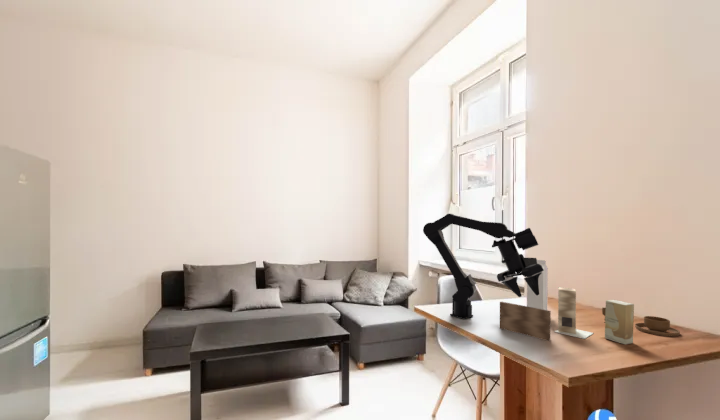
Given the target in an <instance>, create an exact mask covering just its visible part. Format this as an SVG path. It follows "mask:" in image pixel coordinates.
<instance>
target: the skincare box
mask: <svg viewBox="0 0 720 420" xmlns="http://www.w3.org/2000/svg"><path fill="white" fill-rule="evenodd" d="M605 308H606V311H605V316H604V319H605V320H604V322H605V323H604V339H607V340H610V341H613V342H616V343H620V344H622V345H629V344H633V343H634V324H635V323H634V321H635V320H634V316H635V315H634V314H635V304H634V303H632V302H631V303H630V302H626V301H621V300H618V299H617V300H616V299H609V300H608V299H607V300H605Z"/></svg>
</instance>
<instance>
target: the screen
mask: <svg viewBox="0 0 720 420" xmlns="http://www.w3.org/2000/svg"><path fill="white" fill-rule="evenodd" d="M551 315H552V314H551V310H548V309H547V310H543V309H537V308H532V307H527V305H521V304H516V303H510V302H505V301H499V329H501V330H504V331H508V332H513V333H517V334H520V335H525V336H529V337H532V338H536V339H540V340H544V341H549V342H550V341H551Z"/></svg>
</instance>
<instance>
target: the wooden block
mask: <svg viewBox="0 0 720 420" xmlns="http://www.w3.org/2000/svg"><path fill="white" fill-rule="evenodd" d="M576 291H577V290H576V288H572V287H571V288H570V287H560V286H559V287H558V292H557V293H558V297H557V300H558V301H557V302H558V304H557V306H558V307H557V309H558V310H557V313H558V316H557V317H558V318H557V319H558V320H557V321H558V322H557V323H558V325H557V328H558V329H557V330H558V331H559V332H566V333H573V334H576V329H577V327H576V326H577V325H576V324H577V317H576V316H577V312H576V311H577V292H576Z"/></svg>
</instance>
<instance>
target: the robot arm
mask: <svg viewBox="0 0 720 420" xmlns="http://www.w3.org/2000/svg"><path fill="white" fill-rule="evenodd" d="M452 225H455V226H460V227H463V228H467V229H470V230H475V231H480V232H482V233H484V234H486V235H488V236H491V237H493V238H495V239H500V240H495V239H494V240H493V242H492V245H491V248H495V247H497V249H498V251H499V252H500V255H501V257H502V260H501V263H502V264H505V266H506V268H507V270H505V271H502V272H500V273H498V274H496V278H497V281H498V282H499V283H500V282H501V284H504V285H505V286H506V287H507V288H508V289H509V290H511V291H512V292H513V293H514V294H515V295H516V296H517V297H518V298H521V297H522V292H521V290H520V287H519V285H518V279H519V278H518V276H523V277H524V278H523V280H524V281H525V282H526V285H527V284H528V285H529V287H530V288H531V289H532V291H533V292H534V293H535V294H536V295H539V285H538V278H539V276H540V274H542V271H544V270H543V268H542V266H541V265H540V264H537V260H538V259H537V257H524V255H523V254H522V253H519V251H518V250H520V249H522V251H525V250H528V249H531V248H533V247H537V246H539V243H538V241H537V238H536V236H535V235H534V234H533V231H532V229H531V228H530V227H528V228H525V229H522V230H520V231H518V232H516V233H515V232H514V231H512V230H510V229H508V227H507V225H506V224H505V223H503V222H494V221H493V222H492V221H482V220H477V219H473V218H469V217H466V216H465V217H464V216H460V215H456V214H455V213H447V214H446V215H444V216H442V217H441V218H439V219H437V220H435V221H433V222H427V223H426V224H424V226H423V229H422V232H423V235H424V236H425V237H426V238H427V239H428V240H429V241H430V242H431V243H432V244H433V245H434V246H435V247H436V250H437V251H438V253H439V255H440V256H441V258H442V260H443V261H444V263H445V265H446V266H447V268H448V270H449V271H450V273H451V275H452V276H453V279H454V283H455V287H456V290H457V291H456V292H454V293H453V294H452V307H451V309H452V310H451V311H452V313H450V314H449V316H451V317H454V318H455V317H456V318H459V319H468V318H471V317H472V318H473V317H474V314H473V305H472V300H470V298H471V297H472V296H474V294H475V293H476V290H477V287H476V286H477V285H476V284H477V283H476V281H475V280H474V279H473V277H472V275H471V274H468V275H467V274H466V273H465V272H464V270H463V269H462V267H461V266H460V264H459V262H458V260H457V258H456V257H455V256H454V254H453V252H452V250H451V249H450V247H449V246H448V244H447V242H446V239H445V237H444V232H443V230H445V229H446V228H447V227H449V226H452ZM513 237H514V238H513ZM506 238H511V239H508V240H506ZM514 242H515V243H514Z"/></svg>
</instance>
